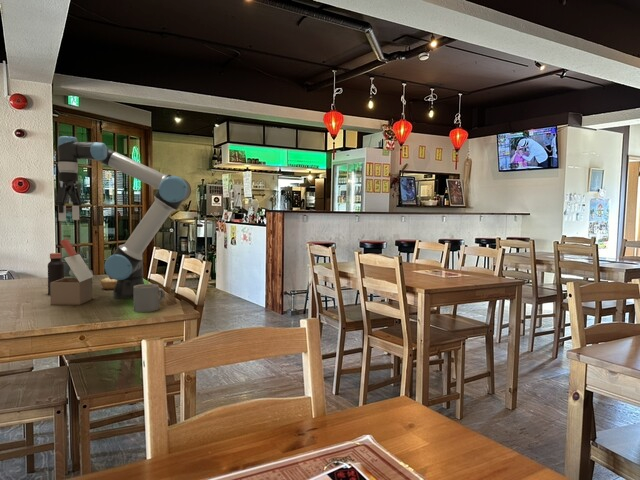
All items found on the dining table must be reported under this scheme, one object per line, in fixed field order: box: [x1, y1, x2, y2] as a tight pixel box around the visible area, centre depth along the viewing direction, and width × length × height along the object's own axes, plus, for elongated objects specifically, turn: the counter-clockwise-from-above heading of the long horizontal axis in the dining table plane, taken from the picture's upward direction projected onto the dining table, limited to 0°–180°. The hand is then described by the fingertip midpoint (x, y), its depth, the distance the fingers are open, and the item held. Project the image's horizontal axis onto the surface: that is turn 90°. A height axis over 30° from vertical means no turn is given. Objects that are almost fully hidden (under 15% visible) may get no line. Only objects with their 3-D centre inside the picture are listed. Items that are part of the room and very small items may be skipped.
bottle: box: [47, 252, 65, 296], centre depth 219 cm, size 7×7×20 cm
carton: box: [50, 277, 93, 306], centre depth 203 cm, size 12×14×10 cm
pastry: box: [100, 276, 117, 291], centre depth 238 cm, size 12×12×9 cm
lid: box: [60, 238, 95, 282], centre depth 202 cm, size 20×14×2 cm
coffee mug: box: [133, 283, 166, 313], centre depth 191 cm, size 13×10×10 cm
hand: (69, 220), depth 200 cm, fingers open, 13 cm apart
